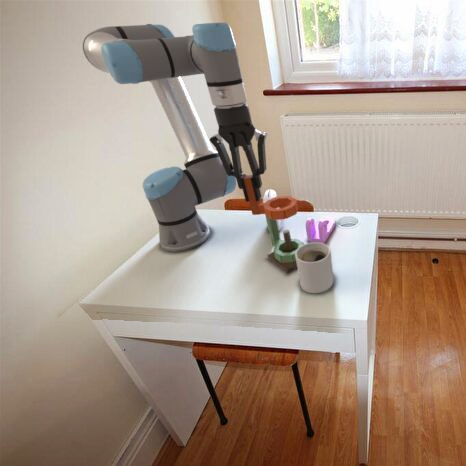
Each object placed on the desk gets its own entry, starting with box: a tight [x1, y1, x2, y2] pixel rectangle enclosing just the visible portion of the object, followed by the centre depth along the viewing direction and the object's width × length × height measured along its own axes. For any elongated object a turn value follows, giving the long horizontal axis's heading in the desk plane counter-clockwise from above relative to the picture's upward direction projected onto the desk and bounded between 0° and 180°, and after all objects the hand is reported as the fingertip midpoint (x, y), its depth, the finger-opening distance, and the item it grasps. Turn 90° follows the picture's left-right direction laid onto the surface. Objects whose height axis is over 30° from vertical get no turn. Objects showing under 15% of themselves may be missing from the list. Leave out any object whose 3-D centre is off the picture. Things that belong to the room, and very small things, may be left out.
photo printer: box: [262, 189, 282, 231], centre depth 110 cm, size 10×4×12 cm, turn 8°
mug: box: [295, 242, 335, 294], centre depth 85 cm, size 11×10×10 cm
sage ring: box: [265, 216, 305, 263], centre depth 94 cm, size 12×8×10 cm
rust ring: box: [243, 174, 299, 221], centre depth 85 cm, size 12×8×10 cm
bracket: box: [305, 217, 336, 244], centre depth 106 cm, size 13×6×7 cm, turn 163°
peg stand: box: [266, 229, 298, 274], centre depth 94 cm, size 10×10×10 cm
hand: (253, 198), depth 85 cm, fingers closed on rust ring, 2 cm apart
